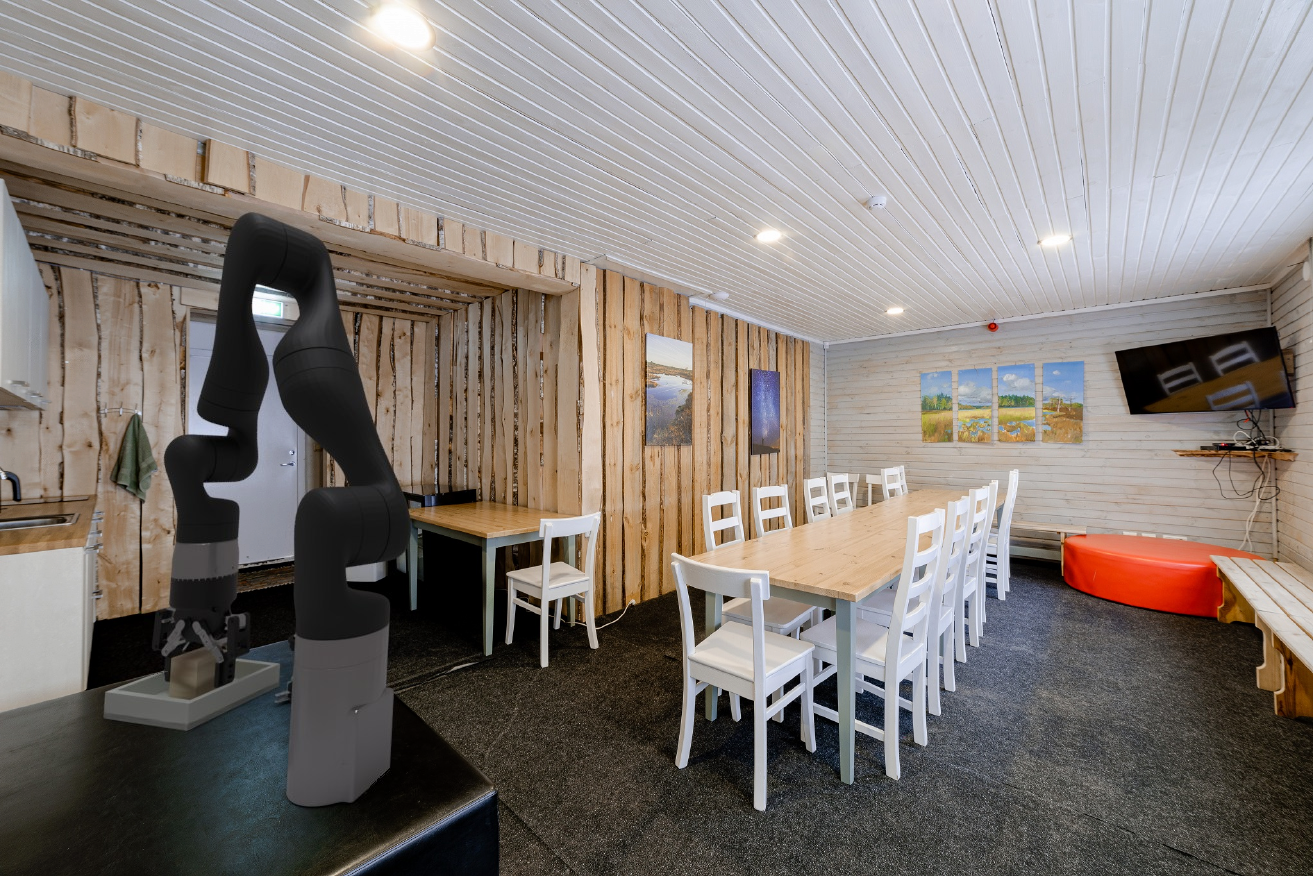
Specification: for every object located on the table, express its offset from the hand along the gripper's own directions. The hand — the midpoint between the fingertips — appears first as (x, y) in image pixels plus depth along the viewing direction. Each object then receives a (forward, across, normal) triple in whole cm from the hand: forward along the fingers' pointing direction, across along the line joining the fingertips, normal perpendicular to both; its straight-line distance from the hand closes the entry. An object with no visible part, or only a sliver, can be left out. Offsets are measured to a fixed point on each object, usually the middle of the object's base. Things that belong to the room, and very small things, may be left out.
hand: (198, 683), depth 76 cm
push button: (+3, -13, -4) cm, 14 cm away
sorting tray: (+3, 0, 0) cm, 3 cm away
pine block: (+2, 0, 0) cm, 2 cm away
